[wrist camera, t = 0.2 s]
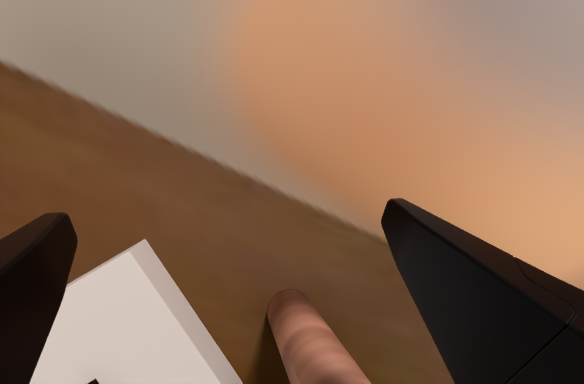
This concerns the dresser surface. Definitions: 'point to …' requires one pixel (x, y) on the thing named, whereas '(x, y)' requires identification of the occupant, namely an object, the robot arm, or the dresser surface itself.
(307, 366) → the peg
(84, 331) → the hole block
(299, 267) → the dresser surface
